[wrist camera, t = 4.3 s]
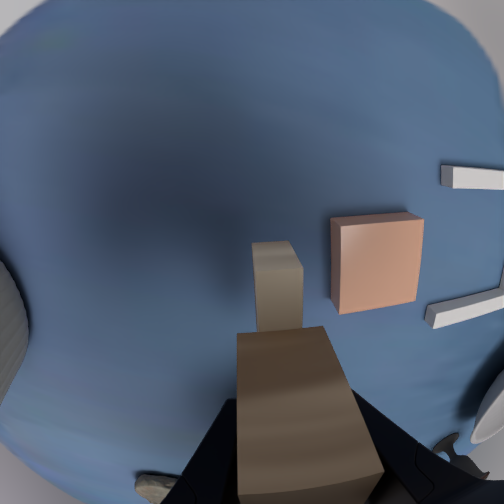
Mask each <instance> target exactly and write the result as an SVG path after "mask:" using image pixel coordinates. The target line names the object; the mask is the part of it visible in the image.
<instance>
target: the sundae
mask: <svg viewBox="0 0 504 504" xmlns="http://www.w3.org/2000/svg"><path fill="white" fill-rule="evenodd" d="M458 437H459V434H458V433H454V434H451V435H449V436H447V437H446V438H444V439H443V440H442V441H440V442H439V443H438V444H437V445H436V446H435V447H434V449H433V453H439V452H442V451H444V452H446V453H447V455H448V456H449V458H450V463H451V464H453V465H455V466H457V467H459V468H460V469H462V470H464V471H466V472H468V473H470V474H472V475H474V476H476V477H478V478H481V479H486V478H487V477H488V475H489V473H490V472H486V473H483V472H482V471H481V470H480V469H479V468H478V467H477V466H476V465H475V463H474V462H473V461H472V460H471V459H470V458H469V457H468V456H465V455H457V454H456V453H455V451H454V448H453V443H454V442H455V441H456V440H457V439H458Z"/></svg>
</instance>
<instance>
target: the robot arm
mask: <svg viewBox="0 0 504 504" xmlns="http://www.w3.org/2000/svg"><path fill="white" fill-rule="evenodd" d="M351 390H352V389H351ZM352 393H353V395H354V398H355V400H356V402H357V405H358V407H359V409H360V412H361V414H362V417H363V419H364V421H365V424H366V426H367V429H368V431H369V434H370V436H371V439H372V441H373V444H374V446H375V449H376V451H377V454H378V456H379V459H380V461H381V464H382V466H383V469H384V473H383V475H382V476H381V478H380V480H379V481H378V483H377V484H376V486H375V488H374V489H373V491H372V492H371V494H370V495H369V497H368V498H367V500H366V501H365V503H364V504H504V480H494V481H493V480H485V479H481V478H478V477H476V476H474V475H472V474H470V473H468V472H466V471H464V470H462V469H460V468H459V467H457V466H455V465H453V464H451V463H449V462H448V461H446V460H444V459H443V458H441V457H439V456H438V455H436V454H435V453H433V452H432V451H431V450H429V449H428V448H426V447H425V446H424V445H422V444H421V443H420V442H419V443H418V441H417V440H416V439H414V438H413V437H412V436H410V435H409V434H408V433H406V432H405V431H404V430H403V429H401V428H400V427H399V426H397V425H396V424H395V423H394V422H392V421H391V420H390V419H389V418H387V417H386V416H385V415H383V414H382V413H381V412H380V411H378V410H377V409H376V408H375V407H373V406H372V405H371V404H370V403H368V402H367V401H366V400H365V399H364V398H362V397H361V396H360V395H359V394H357V393H356V392H355V391H354V390H352ZM181 475H182V476H179V478H178V479H177V481H176V483H175V484H174V486H173V487H172V488H171V490H170V491H169V493H168V494H167V495H166V497H165V498H164V499H163V500H162V501H161V502H160V504H240V500H239V497H238V466H237V398H229V399H227V400H226V401H225V403H224V405H223V407H222V408H221V410H220V412H219V413H218V415H217V417H216V418H215V420H214V422H213V423H212V425H211V427H210V428H209V430H208V432H207V433H206V435H205V437H204V438H203V440H202V442H201V443H200V445H199V446H198V448H197V450H196V451H195V453H194V455H193V456H192V458H191V459H190V461H189V462H188V464H187V466H186V467H185V469H184V470H183V472H182V473H181Z"/></svg>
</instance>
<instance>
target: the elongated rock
mask: <svg viewBox="0 0 504 504" xmlns="http://www.w3.org/2000/svg"><path fill="white" fill-rule="evenodd" d="M176 481H177V479H176V478H169V477H166V476H155V475H146V474H143V475H141V476H140V477H139V478H138V479H137V480H136V482H135V491H136V492H137V493H138V494H139V495H140V496H142V497H143V498H146V499H147V500H148V501H149V502H150V503H153V504H160V502H161V501H162V500H163V499H164V498H165V497H166V495H167V494H168V493H169V491H170V490H171V488H172V487H173V486H174V484H175V483H176Z"/></svg>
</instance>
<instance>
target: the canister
mask: <svg viewBox="0 0 504 504" xmlns="http://www.w3.org/2000/svg"><path fill="white" fill-rule="evenodd" d="M28 336H29V329H28V319H27V317H26V310H25V308H24V305H23V300H22V299H21V296H20V292H19V290H18V289H17V287H16V285H15V281H14V280H13V279H12V277H11V275H10V272H8V271H7V269H6V268H5V265H4V263H2V262H1V261H0V405H1V403H2V401H3V399H4V397H5V395H6V393H7V391H8V389H9V387H10V385H11V383H12V381H13V379H14V377H15V375H16V373H17V372H18V370H19V368H20V366H21V364H22V362H23V360H24V357H25V354H26V350H27V346H28Z"/></svg>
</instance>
